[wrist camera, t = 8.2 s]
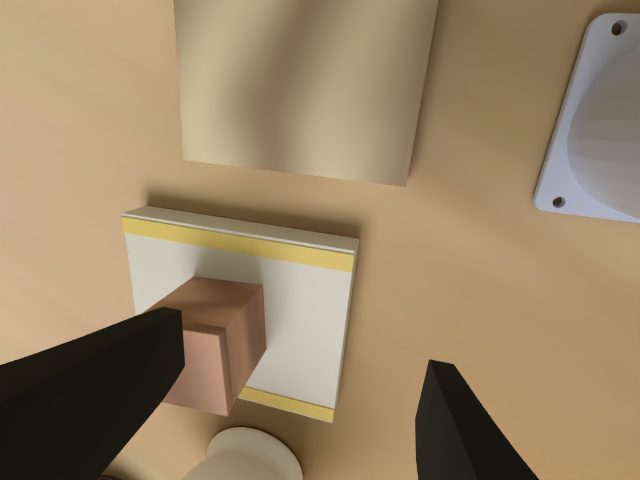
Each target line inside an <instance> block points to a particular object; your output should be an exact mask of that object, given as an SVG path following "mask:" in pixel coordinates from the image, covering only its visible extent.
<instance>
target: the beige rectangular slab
mask: <svg viewBox="0 0 640 480" xmlns="http://www.w3.org/2000/svg"><path fill="white" fill-rule="evenodd" d="M438 2H439V0H174V14H175V30H176V46H177V62H178V78H179V95H180V111H181V127H182V143H183V159H184V160H190V161H198V162H206V163H214V164H222V165H231V166H239V167H247V168H255V169H263V170H272V171H280V172H288V173H296V174H304V175H312V176H321V177H329V178H337V179H345V180H353V181H362V182H370V183H378V184H386V185H394V186H403V187H406V184H407V178H408V173H409V167H410V161H411V156H412V150H413V144H414V139H415V133H416V127H417V121H418V116H419V110H420V104H421V99H422V93H423V87H424V82H425V76H426V70H427V64H428V59H429V53H430V47H431V42H432V36H433V30H434V25H435V19H436V13H437V8H438Z"/></svg>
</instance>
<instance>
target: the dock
mask: <svg viewBox="0 0 640 480" xmlns="http://www.w3.org/2000/svg"><path fill="white" fill-rule="evenodd" d="M122 215H123V216H122V225H123V232H124V233H125V237H126V245H127V252H128V260H129V267H130V275H131V282H132V290H133V297H134V305H135V312H136V315H138V314H142V313H143V312H144V311H146V310H147V309H149V308H150V307H151V306H153V305H154V304H156V303H157V302H158V301H160V300H161V299H163V298H164V297H165V296H167V295H168V294H169V293H171V292H172V291H174V290H175V289H176V288H178V287H179V286H181V285H182V284H183V283H185V282H186V281H188V280H189V279H190V278H192V277H193V276H196V277H204V278H212V279H220V280H228V281H236V282H244V283H252V284H260V285H263V294H264V313H265V332H266V351H265V353H264V355H263V356H262V358H261V360H260V361H259V363H258V365H257V366H256V368H255V370H254V371H253V373H252V375H251V376H250V378H249V379H248V381H247V383H246V384H245V386H244V388H243V389H242V391H241V393H240V394H239V396H238V398H240V399H244V400H247V401H251V402H255V403H259V404H262V405H266V406H270V407H274V408H277V409H281V410H285V411H289V412H292V413H296V414H300V415H304V416H307V417H311V418H315V419H318V420H322V421H326V422H330V423H333V419H334V414H335V410H336V406H337V402H338V396H339V388H340V381H341V373H342V366H343V358H344V351H345V343H346V335H347V328H348V320H349V313H350V305H351V298H352V290H353V283H354V275H355V268H356V260H357V253H358V245H359V239H358V238H351V237H345V236H338V235H332V234H326V233H319V232H313V231H306V230H300V229H293V228H287V227H281V226H274V225H268V224H261V223H255V222H248V221H242V220H236V219H229V218H223V217H216V216H210V215H203V214H197V213H191V212H184V211H178V210H171V209H165V208H158V207H152V206H144V207H140V208H137V209H134V210H131V211H128V212H124V213H122Z"/></svg>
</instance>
